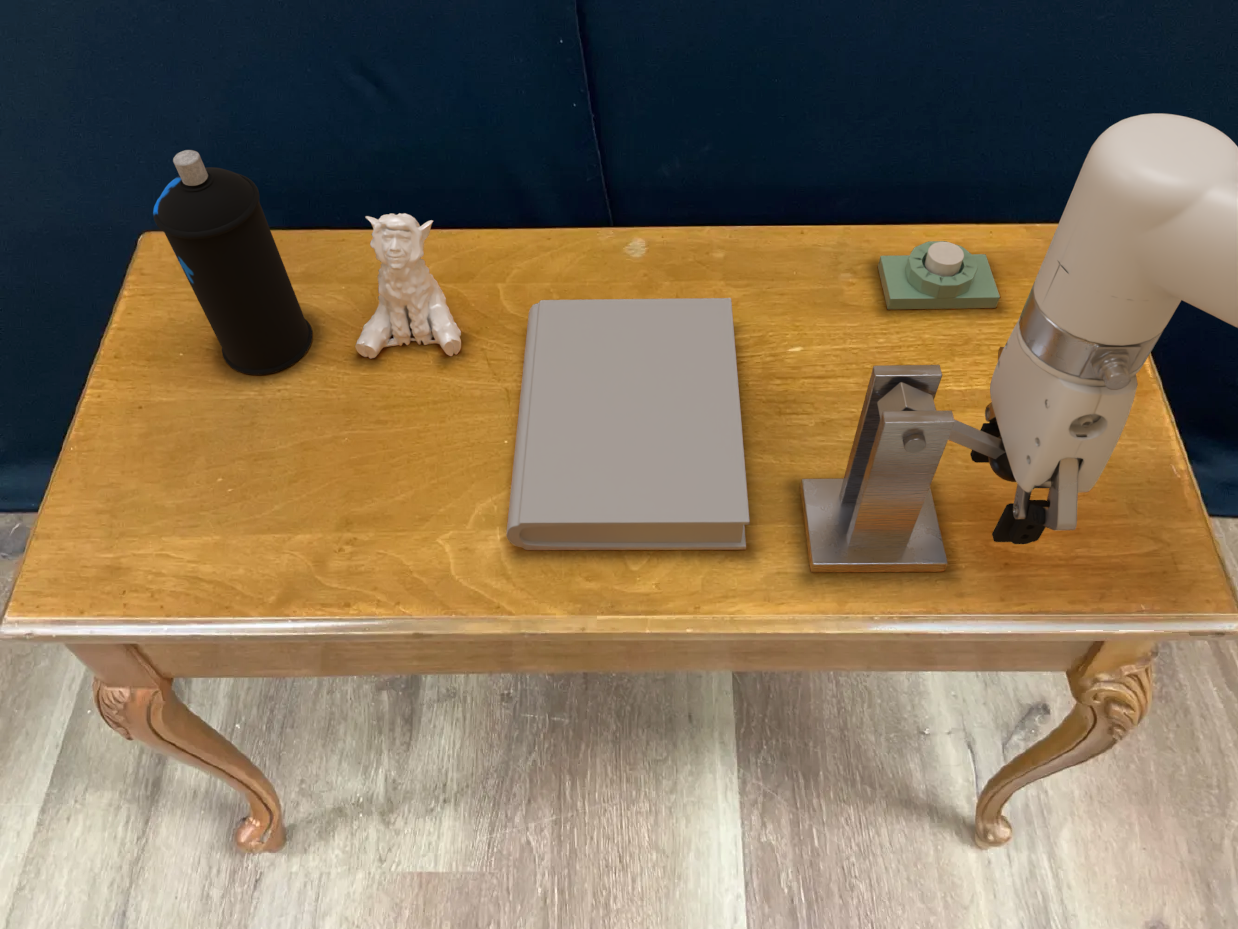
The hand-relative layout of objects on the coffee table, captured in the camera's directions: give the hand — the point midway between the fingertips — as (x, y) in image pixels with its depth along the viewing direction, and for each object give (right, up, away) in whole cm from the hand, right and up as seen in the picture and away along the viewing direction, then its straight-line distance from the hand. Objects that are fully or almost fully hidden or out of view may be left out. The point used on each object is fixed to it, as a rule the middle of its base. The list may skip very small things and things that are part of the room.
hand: (1002, 496), depth 72 cm
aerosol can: (-61, +13, +18) cm, 65 cm away
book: (-28, +5, +10) cm, 30 cm away
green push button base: (+2, +19, +20) cm, 28 cm away
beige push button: (+1, +21, +18) cm, 27 cm away
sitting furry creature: (-48, +15, +19) cm, 53 cm away
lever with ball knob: (-6, +3, -4) cm, 8 cm away
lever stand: (-9, -3, +4) cm, 10 cm away
